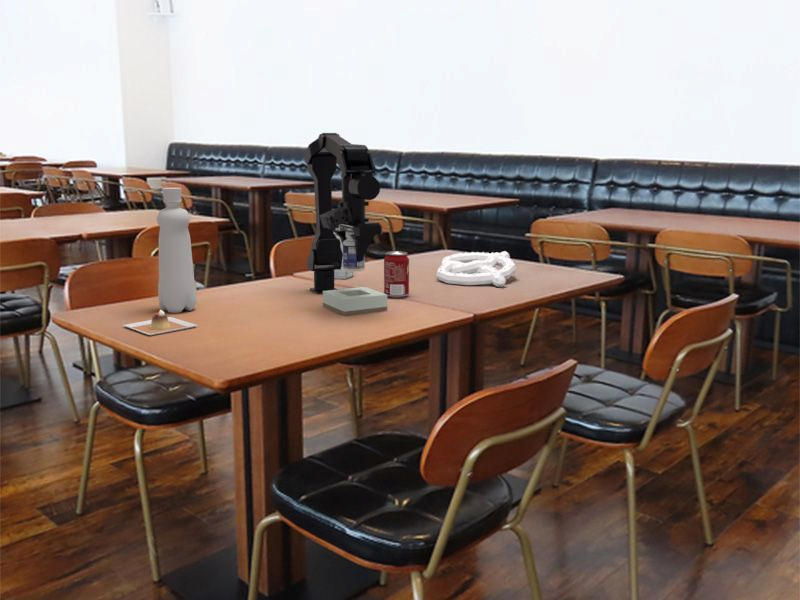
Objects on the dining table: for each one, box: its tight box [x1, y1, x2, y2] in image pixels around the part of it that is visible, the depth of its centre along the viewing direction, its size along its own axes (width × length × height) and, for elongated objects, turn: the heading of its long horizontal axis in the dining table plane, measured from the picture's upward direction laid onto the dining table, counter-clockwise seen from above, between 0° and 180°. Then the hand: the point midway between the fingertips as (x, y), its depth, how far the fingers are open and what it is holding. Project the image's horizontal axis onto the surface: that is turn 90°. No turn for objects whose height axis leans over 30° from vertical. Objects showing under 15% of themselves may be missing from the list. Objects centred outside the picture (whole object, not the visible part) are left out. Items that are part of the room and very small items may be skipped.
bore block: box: [322, 286, 388, 317], centre depth 195 cm, size 12×12×4 cm
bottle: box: [156, 187, 198, 314], centre depth 189 cm, size 9×9×30 cm
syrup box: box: [334, 233, 354, 280], centre depth 236 cm, size 6×6×14 cm
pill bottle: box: [343, 231, 366, 273], centre depth 192 cm, size 5×5×10 cm
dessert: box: [122, 308, 198, 336], centre depth 174 cm, size 12×12×5 cm
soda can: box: [383, 250, 410, 299], centre depth 209 cm, size 7×7×12 cm
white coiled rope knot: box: [435, 250, 518, 288], centre depth 237 cm, size 28×24×6 cm
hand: (354, 260), depth 193 cm, fingers closed on pill bottle, 5 cm apart
